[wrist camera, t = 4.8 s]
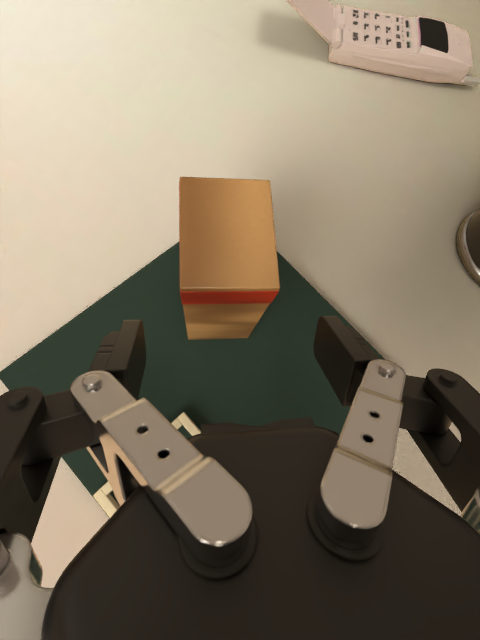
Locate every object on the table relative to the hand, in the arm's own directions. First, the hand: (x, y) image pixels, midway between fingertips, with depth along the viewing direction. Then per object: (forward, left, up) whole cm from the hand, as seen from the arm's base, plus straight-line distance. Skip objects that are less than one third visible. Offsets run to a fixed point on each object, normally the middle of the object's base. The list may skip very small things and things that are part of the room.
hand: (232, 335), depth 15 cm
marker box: (-3, -4, -10) cm, 11 cm away
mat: (+1, 0, -10) cm, 10 cm away
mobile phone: (-36, -15, -11) cm, 40 cm away
